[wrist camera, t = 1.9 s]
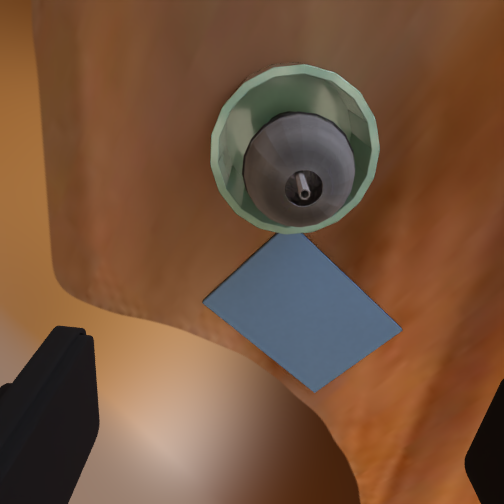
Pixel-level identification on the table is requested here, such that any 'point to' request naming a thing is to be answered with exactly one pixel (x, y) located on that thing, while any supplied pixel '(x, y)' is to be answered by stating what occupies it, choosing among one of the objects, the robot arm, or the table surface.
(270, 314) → the desk mat
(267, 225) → the bucket
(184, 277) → the table surface
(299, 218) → the beverage cup
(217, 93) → the table surface
